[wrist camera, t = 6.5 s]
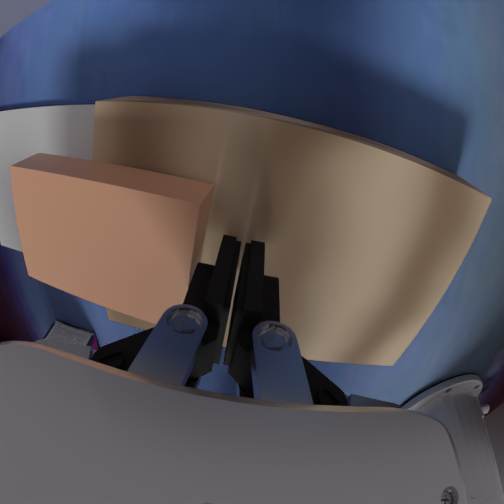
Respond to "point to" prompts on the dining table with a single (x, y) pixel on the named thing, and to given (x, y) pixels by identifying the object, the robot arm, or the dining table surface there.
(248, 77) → the dining table surface
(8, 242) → the mat
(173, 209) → the block
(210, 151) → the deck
